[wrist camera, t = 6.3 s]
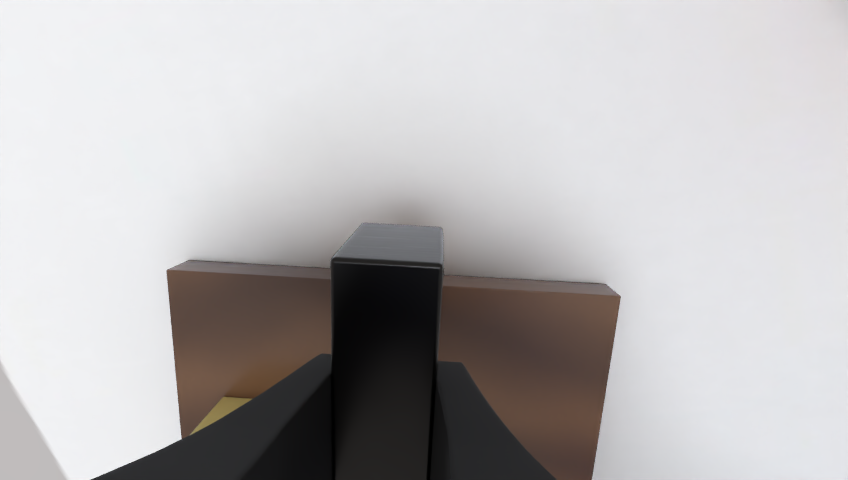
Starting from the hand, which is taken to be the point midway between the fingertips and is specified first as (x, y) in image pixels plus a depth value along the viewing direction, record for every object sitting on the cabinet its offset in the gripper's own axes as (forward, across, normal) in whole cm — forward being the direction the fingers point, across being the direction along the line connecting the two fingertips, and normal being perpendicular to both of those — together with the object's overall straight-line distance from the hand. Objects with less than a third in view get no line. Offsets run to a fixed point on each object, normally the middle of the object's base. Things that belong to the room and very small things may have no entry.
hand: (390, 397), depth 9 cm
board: (+9, +1, +7) cm, 11 cm away
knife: (+2, 0, +5) cm, 6 cm away
